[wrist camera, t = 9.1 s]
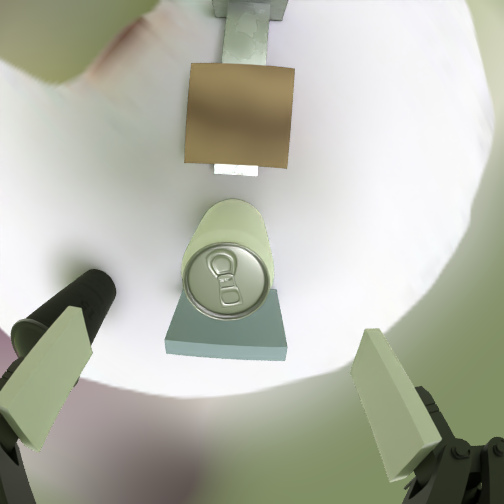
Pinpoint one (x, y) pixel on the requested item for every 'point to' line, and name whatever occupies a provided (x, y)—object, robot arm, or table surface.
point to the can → (228, 262)
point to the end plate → (228, 333)
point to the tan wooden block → (239, 114)
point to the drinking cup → (76, 295)
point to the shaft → (246, 44)
